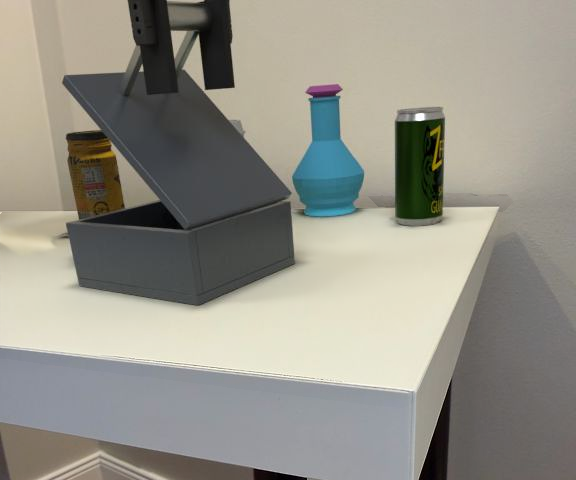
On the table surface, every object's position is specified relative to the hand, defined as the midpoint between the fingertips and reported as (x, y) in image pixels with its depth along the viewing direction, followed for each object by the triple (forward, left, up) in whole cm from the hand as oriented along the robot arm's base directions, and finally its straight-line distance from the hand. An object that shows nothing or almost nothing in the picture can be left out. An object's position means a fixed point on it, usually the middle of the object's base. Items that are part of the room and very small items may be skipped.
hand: (192, 90), depth 53 cm
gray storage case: (-3, 0, -16) cm, 16 cm away
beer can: (+7, +28, -16) cm, 32 cm away
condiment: (-31, +13, -16) cm, 37 cm away
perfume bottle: (-7, +31, -16) cm, 35 cm away
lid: (-2, 0, -4) cm, 5 cm away
